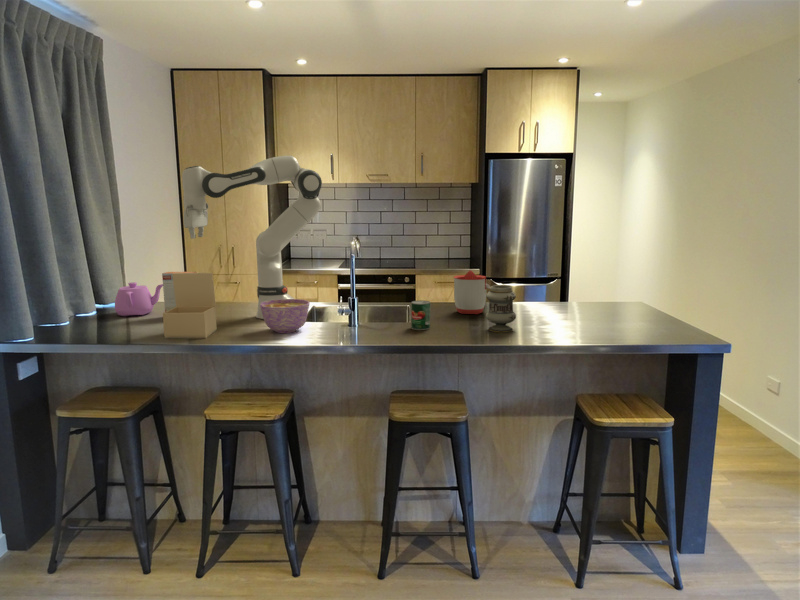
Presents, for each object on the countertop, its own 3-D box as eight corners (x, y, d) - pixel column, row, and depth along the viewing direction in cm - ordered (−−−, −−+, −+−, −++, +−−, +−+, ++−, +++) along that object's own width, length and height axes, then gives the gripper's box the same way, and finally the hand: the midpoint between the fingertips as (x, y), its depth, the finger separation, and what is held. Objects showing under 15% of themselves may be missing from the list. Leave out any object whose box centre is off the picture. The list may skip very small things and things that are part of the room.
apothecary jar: (485, 326, 245) (486, 283, 242) (515, 326, 243) (516, 284, 240) (485, 332, 233) (486, 288, 230) (516, 333, 231) (517, 288, 228)
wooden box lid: (215, 306, 238) (218, 303, 243) (212, 273, 234) (215, 270, 239) (176, 306, 238) (180, 303, 243) (172, 273, 234) (176, 270, 239)
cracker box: (200, 316, 270) (197, 271, 266) (194, 318, 264) (191, 273, 260) (171, 315, 271) (168, 271, 268) (165, 318, 265) (161, 272, 262)
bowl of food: (267, 325, 248) (266, 299, 246) (314, 325, 248) (313, 298, 246) (255, 336, 229) (254, 307, 227) (306, 336, 228) (305, 307, 226)
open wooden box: (216, 330, 240) (215, 306, 238) (205, 338, 226) (204, 313, 225) (177, 330, 240) (176, 306, 238) (164, 338, 226) (162, 313, 224)
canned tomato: (410, 329, 239) (410, 303, 237) (412, 325, 247) (412, 300, 245) (429, 330, 238) (429, 303, 236) (431, 326, 245) (431, 300, 244)
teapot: (109, 320, 262) (106, 287, 260) (120, 311, 282) (117, 280, 280) (163, 317, 267) (161, 285, 265) (170, 309, 287) (168, 279, 285)
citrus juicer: (489, 316, 265) (490, 272, 262) (451, 315, 268) (452, 272, 265) (490, 309, 281) (491, 268, 277) (454, 308, 284) (455, 268, 280)
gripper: (194, 205, 237) (196, 239, 239) (209, 204, 257) (211, 236, 259) (178, 205, 237) (180, 239, 239) (195, 205, 257) (197, 236, 259)
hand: (197, 237), depth 249 cm, fingers open, 8 cm apart
